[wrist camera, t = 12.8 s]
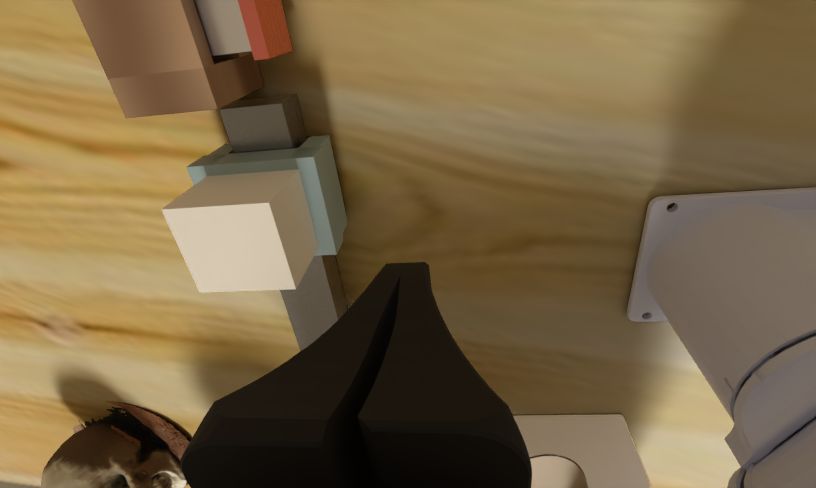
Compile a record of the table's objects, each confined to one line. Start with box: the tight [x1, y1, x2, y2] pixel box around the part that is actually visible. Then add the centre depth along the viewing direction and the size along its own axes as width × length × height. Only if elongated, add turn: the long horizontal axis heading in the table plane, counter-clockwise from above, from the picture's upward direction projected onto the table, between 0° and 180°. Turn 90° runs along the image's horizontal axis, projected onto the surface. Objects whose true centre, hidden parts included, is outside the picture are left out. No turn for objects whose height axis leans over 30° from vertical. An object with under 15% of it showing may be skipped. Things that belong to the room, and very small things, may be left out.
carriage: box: [161, 135, 348, 292], centre depth 19 cm, size 6×5×7 cm
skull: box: [41, 401, 190, 488], centre depth 37 cm, size 12×10×10 cm
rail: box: [219, 94, 348, 351], centre depth 24 cm, size 3×17×2 cm, turn 7°
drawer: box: [193, 0, 293, 60], centre depth 16 cm, size 6×3×3 cm, turn 97°
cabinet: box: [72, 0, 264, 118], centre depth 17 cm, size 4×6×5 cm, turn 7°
